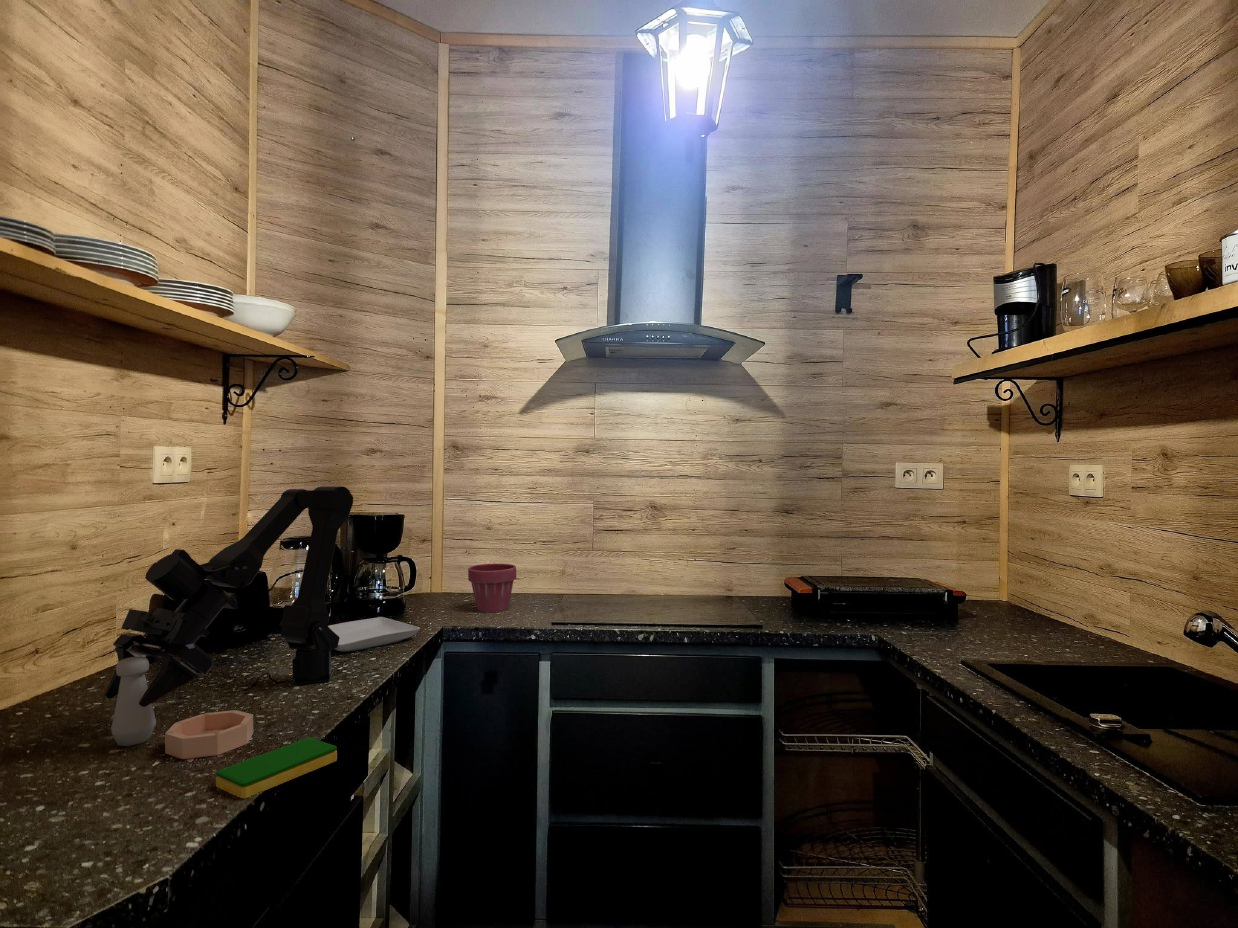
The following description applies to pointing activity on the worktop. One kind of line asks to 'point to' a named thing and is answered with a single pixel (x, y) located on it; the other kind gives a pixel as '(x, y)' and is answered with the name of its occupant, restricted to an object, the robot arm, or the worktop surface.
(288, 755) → the dish sponge
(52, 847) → the worktop surface
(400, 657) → the worktop surface
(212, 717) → the pink octagonal dish
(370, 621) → the salad plate
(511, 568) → the plant pot
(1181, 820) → the worktop surface
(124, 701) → the salt shaker
